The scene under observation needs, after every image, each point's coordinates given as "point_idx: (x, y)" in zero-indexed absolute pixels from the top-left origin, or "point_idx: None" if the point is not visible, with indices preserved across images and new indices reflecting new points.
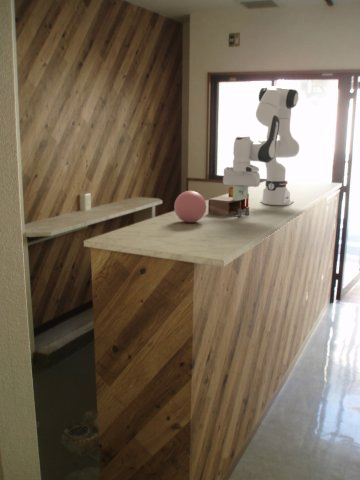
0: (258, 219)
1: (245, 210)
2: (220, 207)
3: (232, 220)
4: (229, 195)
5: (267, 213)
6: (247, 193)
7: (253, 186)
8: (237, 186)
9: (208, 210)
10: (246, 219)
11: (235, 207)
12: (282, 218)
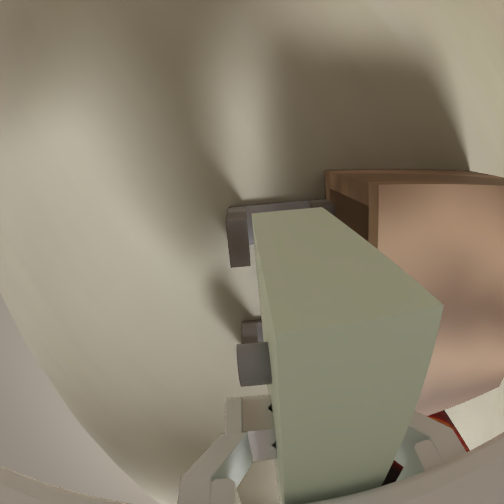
0: (74, 228)
1: (254, 338)
2: (422, 174)
3: (183, 46)
4: (461, 443)
5: (186, 428)
6: (277, 477)
7: (20, 474)
8: (356, 442)
9: (484, 174)
10: (127, 160)
11: None
12: (36, 349)
